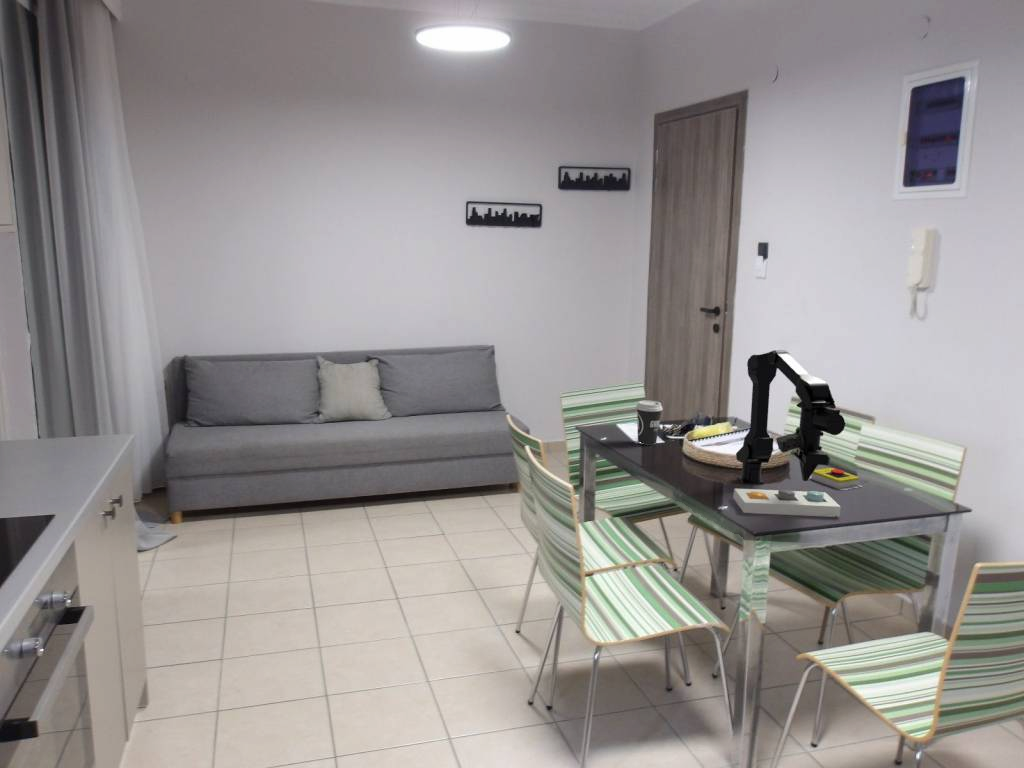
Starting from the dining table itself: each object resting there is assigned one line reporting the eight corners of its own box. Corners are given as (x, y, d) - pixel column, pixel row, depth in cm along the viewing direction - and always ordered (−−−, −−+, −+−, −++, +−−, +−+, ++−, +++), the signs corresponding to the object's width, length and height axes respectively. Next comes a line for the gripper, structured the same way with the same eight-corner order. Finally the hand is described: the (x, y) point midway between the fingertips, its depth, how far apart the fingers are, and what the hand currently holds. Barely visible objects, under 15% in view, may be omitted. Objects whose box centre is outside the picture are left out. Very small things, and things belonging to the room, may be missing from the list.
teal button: (804, 499, 226) (804, 490, 225) (819, 499, 226) (820, 491, 225) (809, 504, 222) (810, 495, 221) (825, 504, 221) (826, 496, 221)
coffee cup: (645, 448, 282) (647, 406, 279) (628, 441, 290) (630, 401, 287) (665, 445, 286) (668, 404, 283) (648, 438, 294) (651, 399, 292)
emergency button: (844, 478, 240) (805, 464, 254) (842, 492, 241) (804, 478, 254) (865, 475, 245) (826, 462, 258) (863, 488, 245) (825, 475, 259)
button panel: (733, 498, 231) (734, 488, 230) (824, 502, 230) (825, 492, 229) (743, 512, 219) (744, 502, 218) (839, 517, 218) (840, 506, 217)
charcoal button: (775, 497, 226) (776, 489, 226) (791, 498, 226) (792, 490, 226) (780, 503, 222) (781, 494, 221) (796, 503, 222) (796, 495, 221)
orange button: (746, 499, 227) (747, 491, 226) (762, 500, 226) (763, 491, 226) (750, 504, 222) (751, 496, 222) (766, 505, 222) (767, 496, 222)
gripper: (772, 417, 229) (767, 469, 232) (790, 433, 211) (784, 489, 214) (811, 419, 228) (806, 471, 231) (833, 435, 210) (826, 491, 213)
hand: (804, 480), depth 222 cm, fingers closed
